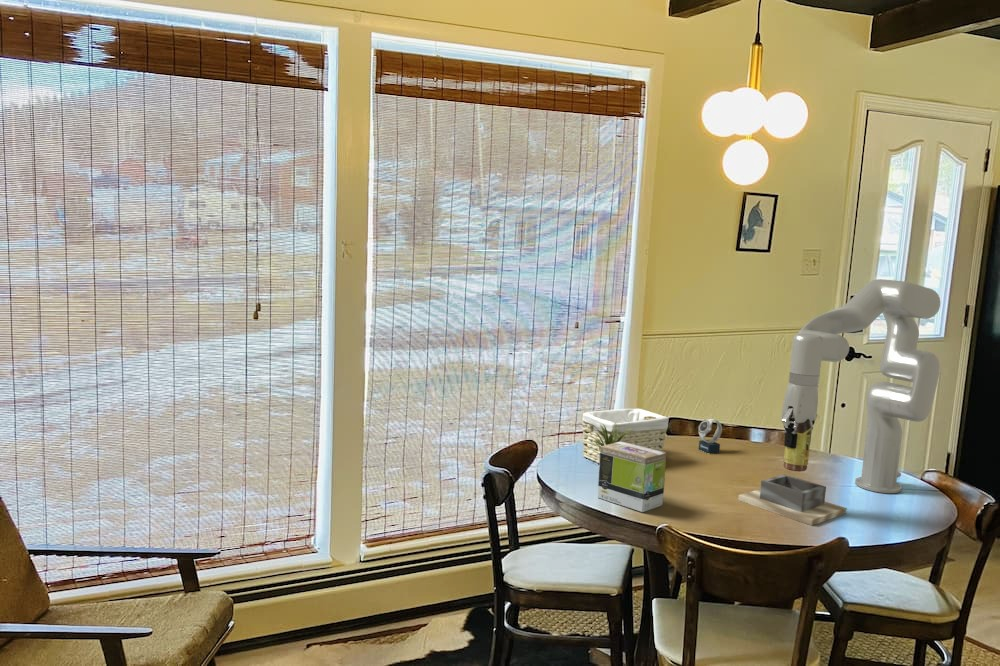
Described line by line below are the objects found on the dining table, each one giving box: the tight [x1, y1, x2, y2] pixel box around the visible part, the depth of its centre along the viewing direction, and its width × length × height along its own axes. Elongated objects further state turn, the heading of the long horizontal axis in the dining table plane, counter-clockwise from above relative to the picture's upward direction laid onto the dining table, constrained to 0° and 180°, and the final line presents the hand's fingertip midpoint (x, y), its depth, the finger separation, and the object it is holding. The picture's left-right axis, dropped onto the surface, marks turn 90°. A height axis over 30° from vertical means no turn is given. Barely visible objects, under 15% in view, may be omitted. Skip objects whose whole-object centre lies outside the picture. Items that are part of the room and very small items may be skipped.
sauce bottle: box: [783, 419, 812, 472], centre depth 216 cm, size 6×6×20 cm
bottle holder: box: [737, 474, 847, 527], centre depth 218 cm, size 17×22×6 cm
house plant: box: [591, 424, 632, 465], centre depth 238 cm, size 14×14×16 cm
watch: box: [697, 418, 723, 454], centre depth 271 cm, size 6×8×11 cm
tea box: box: [597, 441, 667, 513], centre depth 216 cm, size 15×10×15 cm
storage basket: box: [581, 407, 669, 464], centre depth 256 cm, size 24×16×15 cm
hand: (797, 445), depth 216 cm, fingers closed on sauce bottle, 6 cm apart
